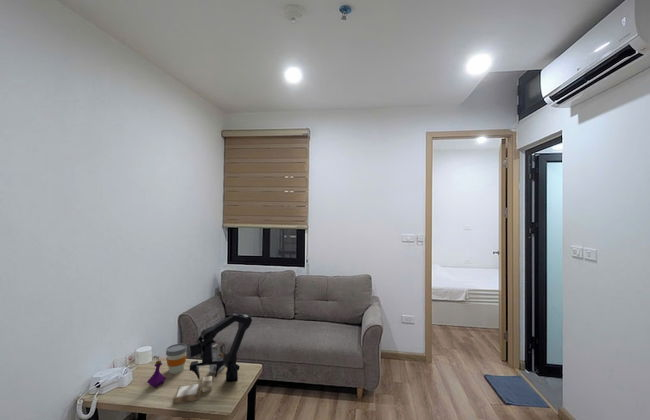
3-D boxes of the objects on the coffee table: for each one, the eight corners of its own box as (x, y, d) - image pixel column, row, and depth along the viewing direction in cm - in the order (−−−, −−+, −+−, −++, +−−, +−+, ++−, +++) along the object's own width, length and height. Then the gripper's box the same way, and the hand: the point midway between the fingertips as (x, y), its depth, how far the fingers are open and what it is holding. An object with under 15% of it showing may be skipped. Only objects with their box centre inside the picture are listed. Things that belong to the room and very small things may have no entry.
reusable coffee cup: (181, 375, 195) (181, 351, 195) (162, 375, 195) (161, 351, 196) (190, 365, 208) (190, 343, 208) (172, 365, 208) (172, 343, 208)
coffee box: (216, 365, 207) (216, 341, 207) (225, 366, 206) (225, 342, 206) (209, 372, 198) (208, 347, 198) (217, 373, 197) (217, 348, 197)
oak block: (212, 385, 183) (212, 375, 183) (211, 390, 178) (211, 380, 178) (203, 387, 181) (203, 377, 181) (202, 392, 176) (202, 381, 177)
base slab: (200, 388, 180) (200, 382, 180) (197, 399, 169) (197, 394, 169) (178, 391, 177) (178, 386, 177) (174, 403, 166) (174, 398, 166)
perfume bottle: (166, 383, 186) (166, 354, 186) (155, 390, 179) (155, 359, 179) (158, 380, 189) (158, 351, 189) (147, 387, 182) (146, 357, 182)
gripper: (224, 344, 190) (224, 369, 190) (192, 348, 185) (192, 373, 185) (223, 351, 179) (223, 378, 179) (189, 356, 174) (189, 383, 174)
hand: (207, 378), depth 180 cm, fingers open, 9 cm apart
